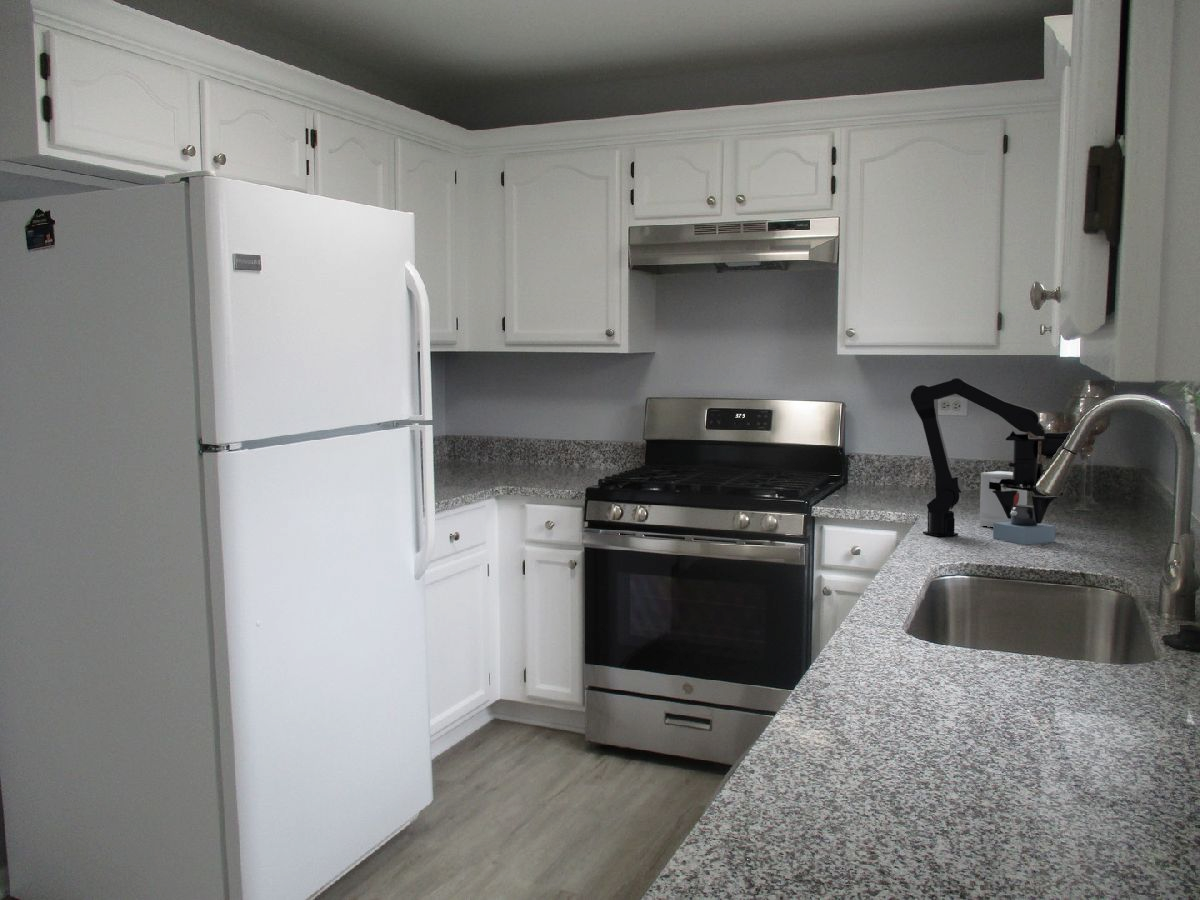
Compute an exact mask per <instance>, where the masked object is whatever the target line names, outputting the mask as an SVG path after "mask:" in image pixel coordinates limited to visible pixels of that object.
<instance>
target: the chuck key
mask: <svg viewBox="0 0 1200 900" xmlns="http://www.w3.org/2000/svg"><path fill="white" fill-rule="evenodd" d="M1010 515H1011V524H1012V525H1017V526H1037V523H1036V519H1035V513H1034V507H1033V505H1030V504H1029V505H1028V504H1027V505H1013V506H1011V512H1010Z"/></svg>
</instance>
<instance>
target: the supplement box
mask: <svg viewBox="0 0 1200 900" xmlns="http://www.w3.org/2000/svg"><path fill="white" fill-rule="evenodd" d="M1003 477H1006V478H1013V471H1006V470H1005V471H1003V470H997V471H995V470H994V471H984V472H981V474H980V497H979V498H980V500H979V526H980V525H981V526H980V527H983V526H987V527H986V528H990V527H993V524H994V523H999V522H1011V519H1008V518H1007V515H1006V513H1005V511H1004V509H1003V507H1002V505H1001V503H1000V501H999V500H998V498H997V496H996V494H995V493H993V491H994V489H989V481H990V480H991V479H992V478H1003ZM1020 486H1022V484H1020ZM1012 490H1016V491H1018V492H1017V493H1016V495H1015V497H1014V505H1028V491H1027V490H1019V489H1012Z"/></svg>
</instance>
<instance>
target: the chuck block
mask: <svg viewBox="0 0 1200 900" xmlns="http://www.w3.org/2000/svg"><path fill="white" fill-rule="evenodd" d="M992 529H993V532H992V538H994V540H998V539H999V541H1003V540H1004V542H1009V543H1012V544H1013V543H1014V544H1018V545H1025V546H1026V545H1034V544H1035V545H1037V544H1047V543H1055V542H1056V525H1052V524H1046V523H1042V522H1041V523H1040V524H1037V526H1017V525H1012V524H1011V522H999V523H994V524H993V528H992Z"/></svg>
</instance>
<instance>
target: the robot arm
mask: <svg viewBox="0 0 1200 900" xmlns="http://www.w3.org/2000/svg"><path fill="white" fill-rule="evenodd" d="M953 395H958V396H959V397H962V398H964V399H966V400H967V401H969V402H972V403H974V404H975V405H978V406H979V407H982V408H983V409H986V410H988V411H990V412H992V413H994V414H996V415H998V416H999V417H1000V418H1002V419H1003V420H1004V421H1005V422H1006V423H1008V424H1009V425H1011V426H1012V427H1014V428H1015V429H1017V430H1018V431H1019V432H1023V433H1017V432H1016V431H1015V430H1012V431H1010V434H1009V435H1008V436H1006V437H1005V441H1013V451H1012V452H1013V457H1012V462H1011V461H1010V462H1009V463H1008V465H1009V467H1010V468H1011V467H1012V472H1013V478H1006V477H1003V478H992V479H991V480H990V481H989V489H994V491H993V493H995V494H996V496H997V498H998V500H999V501H1000V503H1001V505H1002V507H1003V509H1004V511H1005V513H1006V515H1007V518H1008V519H1011V515H1010V512H1011V506H1013V505H1014V497H1015V495H1016V493H1017V492H1018V491H1016V490H1012V489H1019V490H1027V492H1032V493H1033V494H1034V495H1032V496H1031V499H1032V506H1033V507H1034V513H1035V519H1036V523H1037V524H1040V523H1041V524H1042V521H1043V519H1044V517H1045V516H1046V512H1047V510H1048V508H1049V506H1050V504H1051V503H1052V502H1053V501H1054V500H1055V499H1056V500H1057V499H1059V497H1060V496H1063V495H1064V491H1063V492H1062V493H1061V494H1060V495H1058V496H1046V495H1043V494H1041V493H1039V492H1038V491H1037V490H1036V487H1035V486H1036V483H1037V481H1038V479H1039V478H1040V476H1041V475H1042V474H1043V472H1044V471H1046V470H1045V469H1044V465H1043V463H1041V462H1039V446H1040V444H1039V442H1041V447H1040V448H1041V449H1040V451H1041V452H1040V455H1041V456H1044V457H1045V459H1046V460H1052V457H1053V455H1054V454H1055V453H1056V451H1057V449H1058V448H1059V447H1060V446H1061V445H1062V443H1063V442H1064V440H1065V439H1066V437H1067V435H1068V434H1069V432H1070V431H1065V432H1048V430H1046V428H1045V427H1044V426H1043V425H1042V423H1040V420H1041V419H1040V415H1039V413H1038V412H1037V411H1036V410H1035V409H1032V408H1030V407H1027V406H1024V405H1020V404H1016V403H1013V402H1009V401H1005V400H1004V399H1002V398H999V397H998V396H995V395H993V394H992V393H990V392H988V391H985V390H983V389H981V388H980V387H977V386H974V385H972V384H970V383H969V382H967V381H965V380H964V379H962V378H961V377H959V378H958V377H956V378H955V377H954V378H952V379H951V380H949V381H945V382H944V381H943V382H941V383H938V384H935V385H928V384H921V385H917V386H916V387H914V388H913V389H912V391H911V392H910V401H911V402H912V406H913V407H914V410H915V412H916V414H917V415H918V417H919V418H920V420H921V422H922V426H923V431H924V434H925V439H926V441H927V445H928V446H927V447H928V450H929V454H930V457H931V461H932V465H933V470H934V473H935V474H934V475H935V478H934V479H935V480H934V490H935V497H934V498H933V499H931V500H930V501H929V502H928V503H927V504H926V509H928V510H927V530H925V531H924V530H923V531H922V534H924V535H928V534H929V536H930V535H931V536H933V535H934V537H938V536H943V537H952V536H953V535H955V536H959V532H955V523H956V522H955V520H956V519H955V512H954V511H953V509H954V507H955V506H956V505H957V504H958V503H959V502H960V501H961V500H962V498H963V491H965V488H964V487H963V484H962V476H961V474H959V475H955V474H954V472H953V470H952V468H951V467H952V466H951V463H950V459H949V456H948V452H947V447H946V443H945V439H944V436H943V433H942V428H941V424H940V421H939V400H941V399H943V398H947V397H951V396H953ZM1029 433H1031V434H1032V435H1034V436H1036V438H1035V437H1034V438H1033V437H1030V434H1029ZM1038 437H1041V438H1038ZM1042 437H1043V438H1042ZM1020 484H1022V486H1020Z"/></svg>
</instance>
